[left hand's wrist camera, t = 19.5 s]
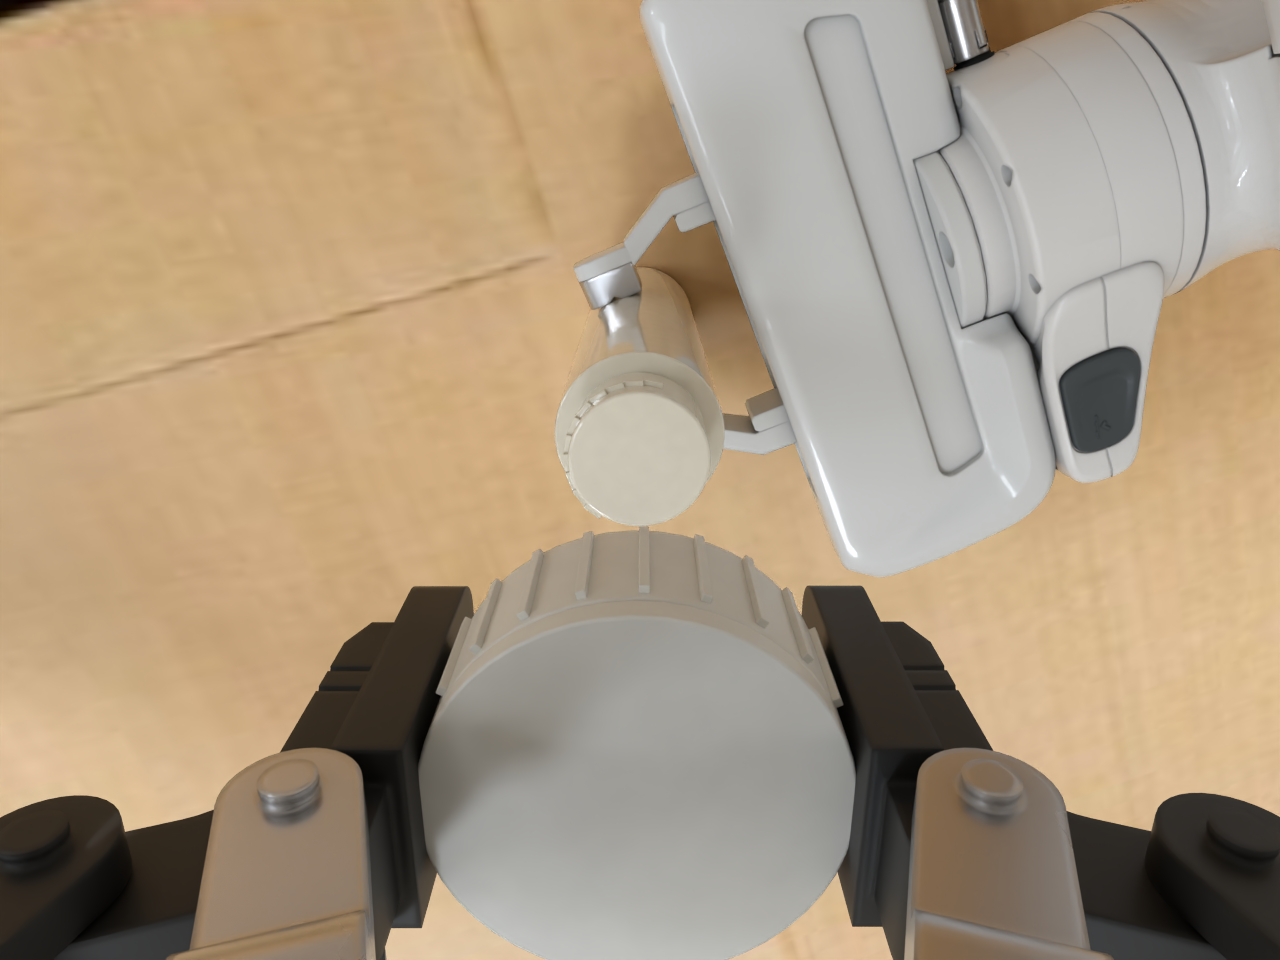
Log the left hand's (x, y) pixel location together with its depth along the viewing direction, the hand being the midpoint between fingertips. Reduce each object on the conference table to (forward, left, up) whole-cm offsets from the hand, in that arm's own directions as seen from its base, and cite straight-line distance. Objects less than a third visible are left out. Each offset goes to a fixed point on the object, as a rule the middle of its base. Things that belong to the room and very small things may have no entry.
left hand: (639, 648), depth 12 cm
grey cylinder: (0, 0, -25) cm, 25 cm away
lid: (0, 0, +3) cm, 3 cm away
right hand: (0, -1, -19) cm, 19 cm away
